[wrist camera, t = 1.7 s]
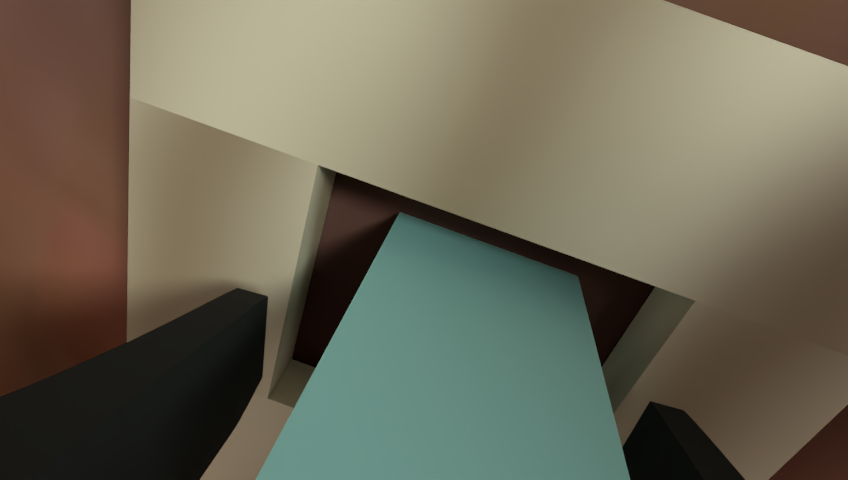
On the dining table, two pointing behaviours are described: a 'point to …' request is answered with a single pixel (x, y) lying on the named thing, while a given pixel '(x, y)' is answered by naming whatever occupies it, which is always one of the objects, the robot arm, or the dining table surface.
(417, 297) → the teal block
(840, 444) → the dining table surface
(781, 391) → the board
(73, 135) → the dining table surface
